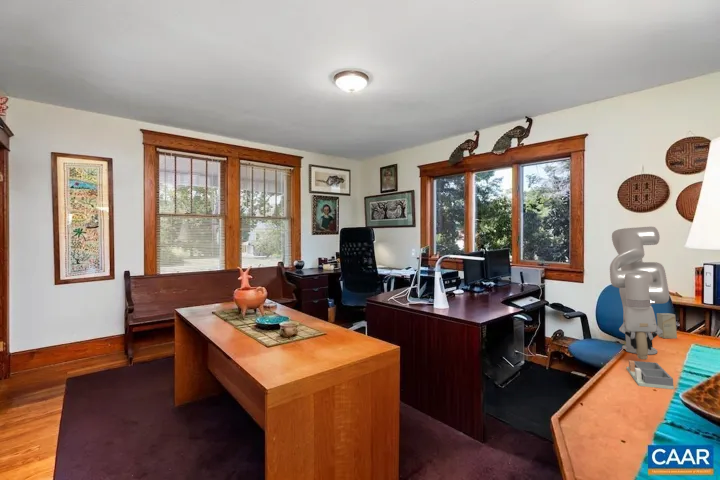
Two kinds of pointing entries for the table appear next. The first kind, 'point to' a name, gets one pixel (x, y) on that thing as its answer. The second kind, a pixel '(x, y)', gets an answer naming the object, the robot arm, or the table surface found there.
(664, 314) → the skincare box
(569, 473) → the table surface
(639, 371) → the grey compartment tray
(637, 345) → the handle
